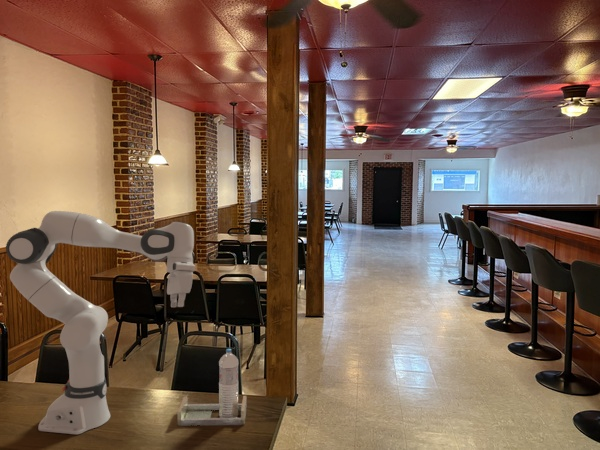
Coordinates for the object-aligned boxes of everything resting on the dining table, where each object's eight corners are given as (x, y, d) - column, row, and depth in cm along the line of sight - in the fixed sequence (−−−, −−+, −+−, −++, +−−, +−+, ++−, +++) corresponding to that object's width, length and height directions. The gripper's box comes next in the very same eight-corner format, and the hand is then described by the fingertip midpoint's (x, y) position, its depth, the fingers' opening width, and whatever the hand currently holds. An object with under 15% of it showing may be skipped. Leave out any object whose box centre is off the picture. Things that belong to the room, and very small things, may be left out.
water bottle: (234, 422, 157) (234, 353, 155) (216, 420, 159) (216, 352, 157) (240, 413, 164) (241, 346, 162) (223, 410, 166) (223, 345, 163)
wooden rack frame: (177, 425, 155) (177, 411, 154) (184, 409, 166) (184, 396, 166) (244, 424, 156) (244, 411, 156) (246, 408, 167) (246, 395, 167)
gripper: (164, 269, 166) (161, 307, 163) (177, 264, 149) (174, 306, 146) (181, 270, 169) (178, 307, 166) (196, 265, 151) (194, 306, 149)
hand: (177, 307), depth 156 cm, fingers open, 8 cm apart
